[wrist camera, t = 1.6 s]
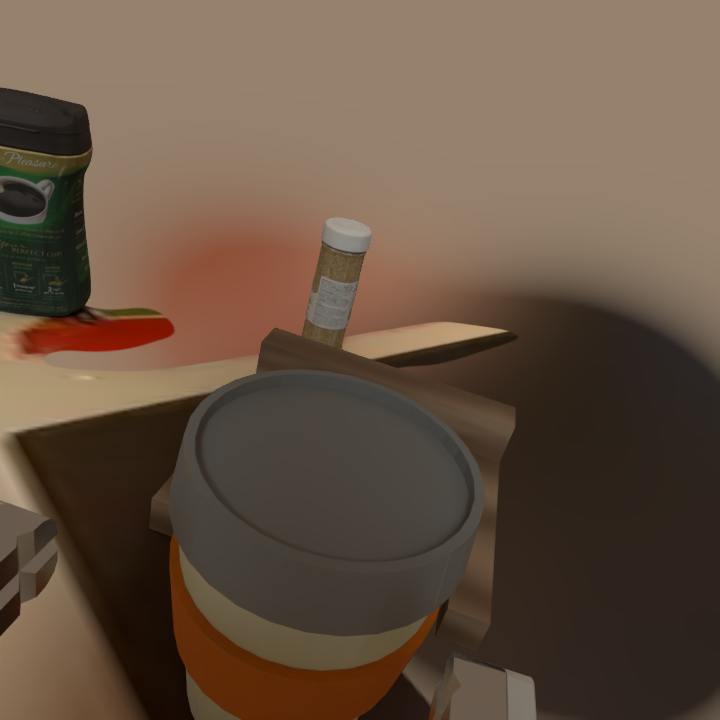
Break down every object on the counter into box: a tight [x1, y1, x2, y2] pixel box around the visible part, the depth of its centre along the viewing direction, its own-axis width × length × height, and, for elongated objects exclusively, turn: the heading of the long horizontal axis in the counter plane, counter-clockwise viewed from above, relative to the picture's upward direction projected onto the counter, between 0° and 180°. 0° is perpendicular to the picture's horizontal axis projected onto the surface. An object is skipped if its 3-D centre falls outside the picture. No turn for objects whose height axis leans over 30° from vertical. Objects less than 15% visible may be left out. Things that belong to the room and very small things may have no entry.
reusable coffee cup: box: [169, 369, 485, 720], centre depth 27 cm, size 13×13×15 cm
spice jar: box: [302, 217, 372, 350], centre depth 59 cm, size 5×5×14 cm
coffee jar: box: [0, 88, 93, 316], centre depth 53 cm, size 10×8×19 cm
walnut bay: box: [149, 328, 515, 652], centre depth 43 cm, size 19×21×6 cm
